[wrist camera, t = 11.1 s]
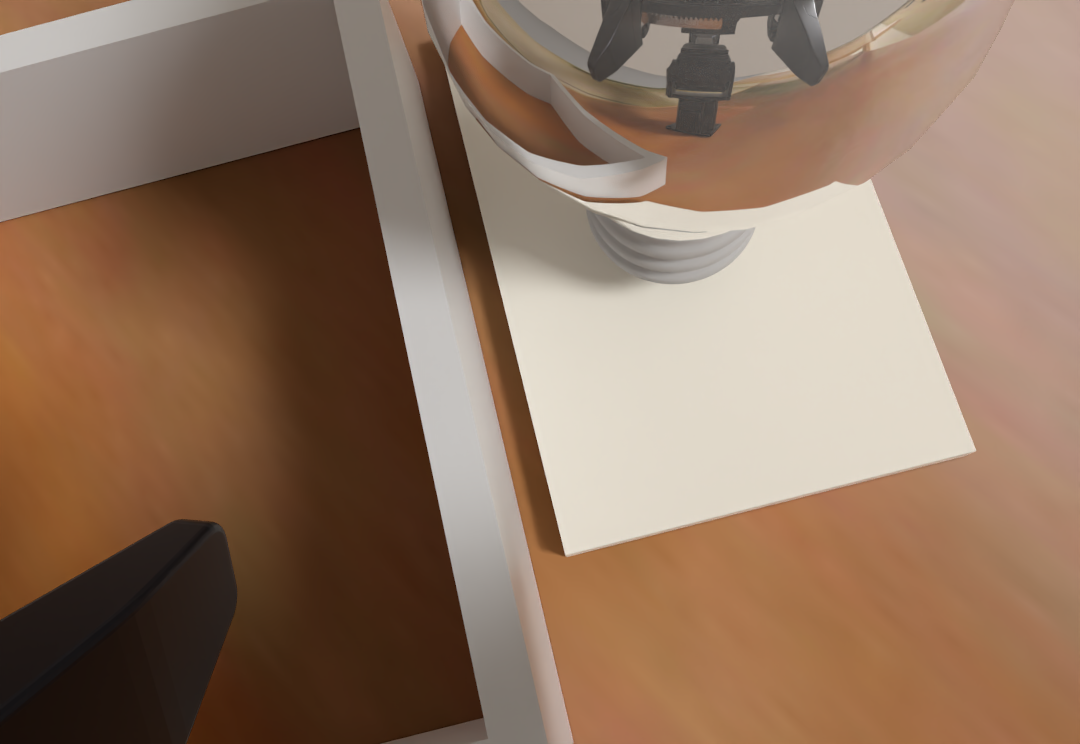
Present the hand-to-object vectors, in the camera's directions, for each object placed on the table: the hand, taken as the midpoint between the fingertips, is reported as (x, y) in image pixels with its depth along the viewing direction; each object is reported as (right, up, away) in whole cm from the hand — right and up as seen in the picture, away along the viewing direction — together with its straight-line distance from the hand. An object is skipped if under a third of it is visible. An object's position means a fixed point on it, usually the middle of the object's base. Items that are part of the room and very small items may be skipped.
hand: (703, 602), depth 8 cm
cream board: (+2, +5, +11) cm, 12 cm away
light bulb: (+1, +5, +11) cm, 12 cm away
